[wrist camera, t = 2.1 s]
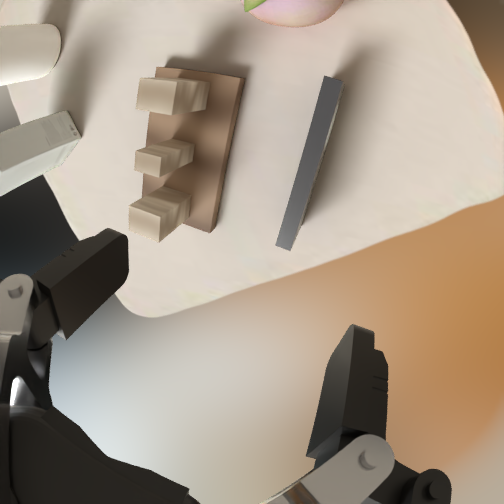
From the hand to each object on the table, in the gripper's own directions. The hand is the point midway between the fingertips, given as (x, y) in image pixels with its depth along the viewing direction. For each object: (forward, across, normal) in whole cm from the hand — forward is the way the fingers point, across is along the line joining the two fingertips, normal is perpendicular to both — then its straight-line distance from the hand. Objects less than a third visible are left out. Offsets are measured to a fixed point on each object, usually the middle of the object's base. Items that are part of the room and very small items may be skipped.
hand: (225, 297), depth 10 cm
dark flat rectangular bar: (+24, 0, 0) cm, 24 cm away
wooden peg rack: (+23, +14, +3) cm, 27 cm away
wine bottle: (+24, +44, -9) cm, 51 cm away
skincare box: (+24, +37, +6) cm, 44 cm away
